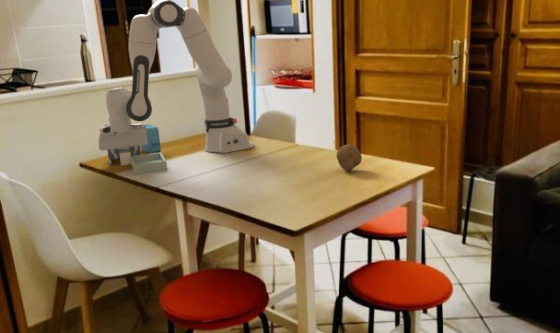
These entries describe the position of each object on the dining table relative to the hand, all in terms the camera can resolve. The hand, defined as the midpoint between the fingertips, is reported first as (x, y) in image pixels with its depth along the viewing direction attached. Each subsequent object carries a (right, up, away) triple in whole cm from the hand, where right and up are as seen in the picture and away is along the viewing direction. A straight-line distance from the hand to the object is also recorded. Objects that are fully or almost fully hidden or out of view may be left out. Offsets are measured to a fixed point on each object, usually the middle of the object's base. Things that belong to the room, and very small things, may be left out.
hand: (125, 157), depth 224 cm
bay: (-1, -2, +3) cm, 3 cm away
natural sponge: (+92, -6, -33) cm, 98 cm away
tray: (+12, -4, -9) cm, 16 cm away
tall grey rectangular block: (0, -2, +1) cm, 2 cm away
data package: (+7, +3, +18) cm, 19 cm away
